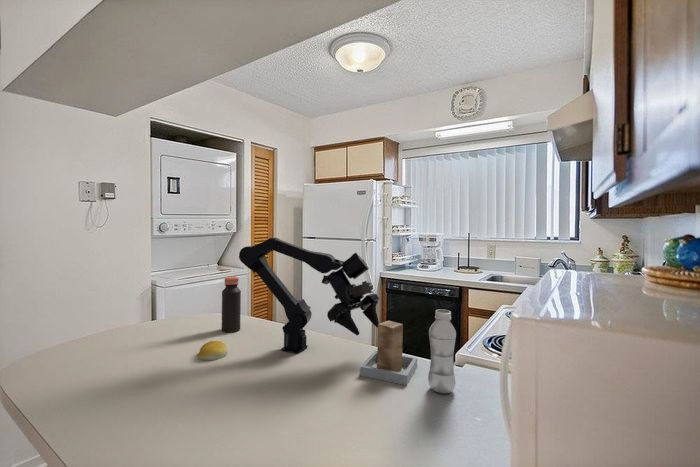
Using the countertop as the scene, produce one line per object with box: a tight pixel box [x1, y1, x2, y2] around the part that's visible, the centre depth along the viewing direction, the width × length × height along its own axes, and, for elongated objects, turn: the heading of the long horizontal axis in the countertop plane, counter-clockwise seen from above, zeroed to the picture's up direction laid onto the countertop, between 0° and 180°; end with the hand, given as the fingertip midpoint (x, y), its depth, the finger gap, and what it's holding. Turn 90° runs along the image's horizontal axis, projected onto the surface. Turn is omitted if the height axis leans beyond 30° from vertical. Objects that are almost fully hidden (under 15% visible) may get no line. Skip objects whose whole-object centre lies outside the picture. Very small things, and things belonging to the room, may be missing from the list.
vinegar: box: [221, 276, 242, 334], centre depth 128 cm, size 7×7×20 cm
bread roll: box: [197, 340, 229, 361], centre depth 104 cm, size 8×9×4 cm
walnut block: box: [376, 320, 404, 372], centre depth 95 cm, size 5×5×13 cm
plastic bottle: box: [427, 309, 457, 394], centre depth 85 cm, size 6×7×20 cm
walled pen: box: [359, 350, 418, 386], centre depth 96 cm, size 13×13×2 cm
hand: (368, 330), depth 101 cm, fingers open, 9 cm apart
